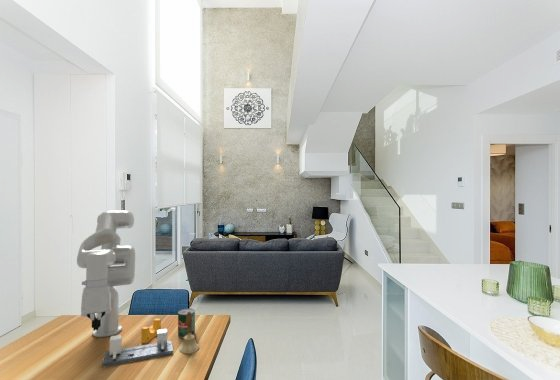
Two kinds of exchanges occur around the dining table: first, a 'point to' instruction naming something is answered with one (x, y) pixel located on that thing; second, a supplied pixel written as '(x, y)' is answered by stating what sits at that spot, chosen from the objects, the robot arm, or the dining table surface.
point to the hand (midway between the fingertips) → (96, 329)
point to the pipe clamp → (150, 331)
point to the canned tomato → (182, 322)
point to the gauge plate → (141, 351)
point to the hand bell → (189, 338)
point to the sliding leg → (115, 345)
